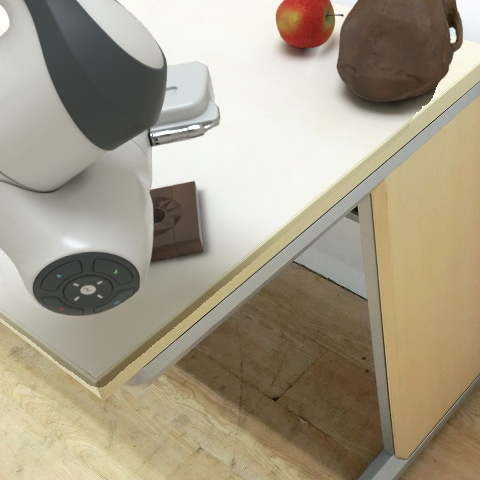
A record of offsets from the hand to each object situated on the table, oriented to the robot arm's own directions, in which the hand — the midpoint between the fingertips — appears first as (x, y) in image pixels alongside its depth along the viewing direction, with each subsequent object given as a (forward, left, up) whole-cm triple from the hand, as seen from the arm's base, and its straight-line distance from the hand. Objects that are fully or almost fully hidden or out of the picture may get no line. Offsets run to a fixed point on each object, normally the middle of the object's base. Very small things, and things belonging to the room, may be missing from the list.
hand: (102, 69), depth 73 cm
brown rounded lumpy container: (+35, +23, -21) cm, 46 cm away
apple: (+19, +35, -17) cm, 43 cm away
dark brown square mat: (0, -1, -20) cm, 20 cm away
